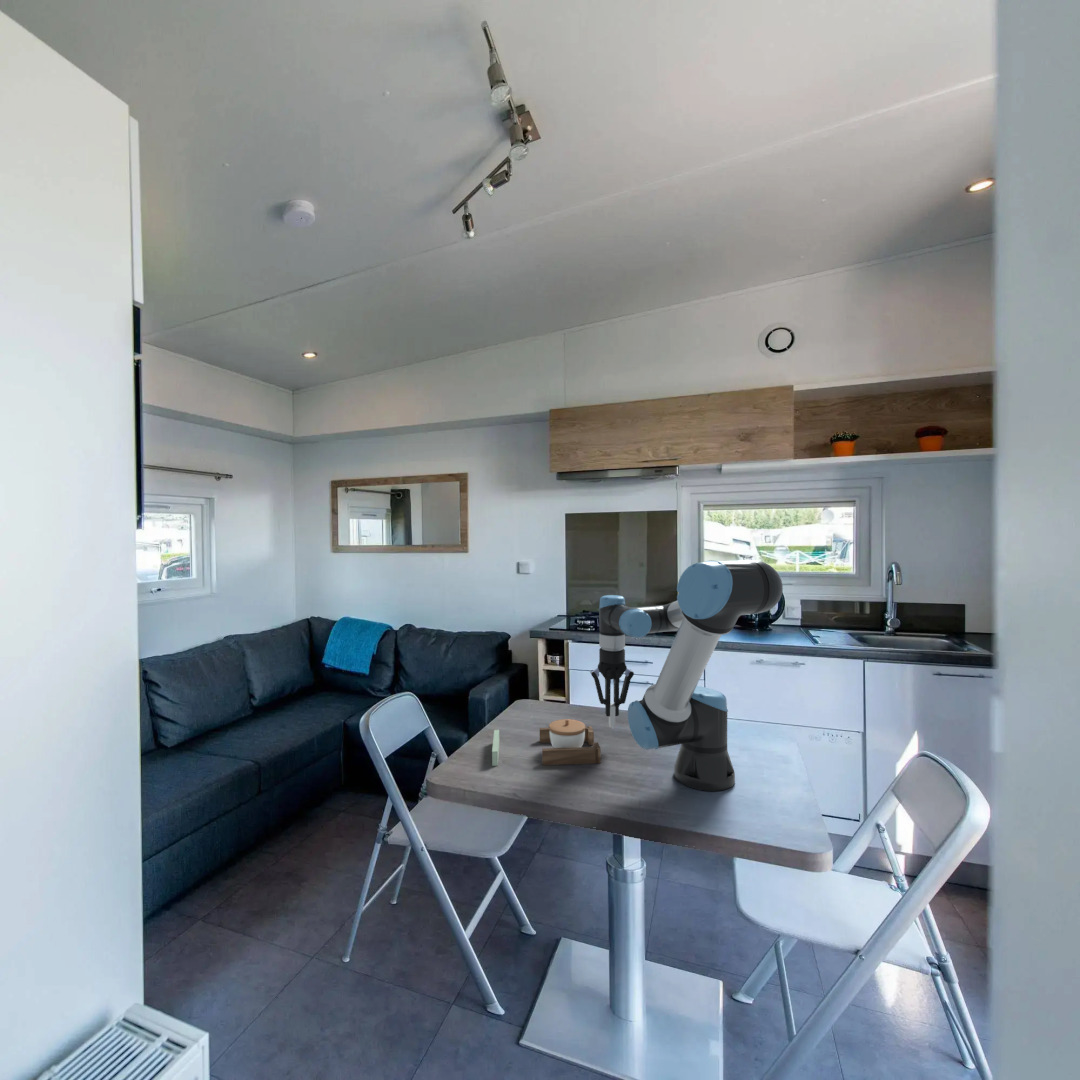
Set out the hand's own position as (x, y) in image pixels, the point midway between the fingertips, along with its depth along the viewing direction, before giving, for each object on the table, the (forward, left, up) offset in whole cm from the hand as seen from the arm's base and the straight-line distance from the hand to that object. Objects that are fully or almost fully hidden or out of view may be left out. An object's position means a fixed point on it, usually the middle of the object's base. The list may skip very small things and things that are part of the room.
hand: (612, 726), depth 154 cm
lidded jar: (-1, +13, -7) cm, 15 cm away
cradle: (-1, +13, -7) cm, 15 cm away
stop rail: (-1, +34, -7) cm, 35 cm away
